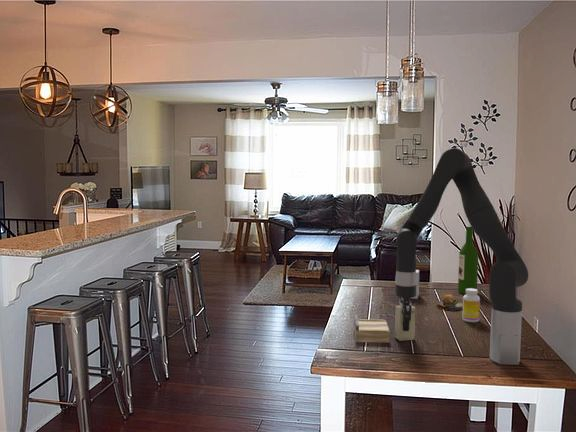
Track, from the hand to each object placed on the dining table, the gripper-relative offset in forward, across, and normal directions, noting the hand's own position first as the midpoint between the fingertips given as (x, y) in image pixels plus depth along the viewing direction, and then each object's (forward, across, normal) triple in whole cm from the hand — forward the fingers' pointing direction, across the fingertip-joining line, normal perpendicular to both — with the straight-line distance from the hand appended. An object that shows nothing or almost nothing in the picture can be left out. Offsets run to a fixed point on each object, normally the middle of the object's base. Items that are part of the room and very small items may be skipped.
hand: (404, 328), depth 201 cm
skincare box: (+4, 0, 0) cm, 4 cm away
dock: (+4, +2, +12) cm, 13 cm away
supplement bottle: (+4, +25, -30) cm, 39 cm away
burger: (+5, +45, -26) cm, 52 cm away
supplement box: (+4, +62, -11) cm, 63 cm away
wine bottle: (+4, +72, -40) cm, 82 cm away
